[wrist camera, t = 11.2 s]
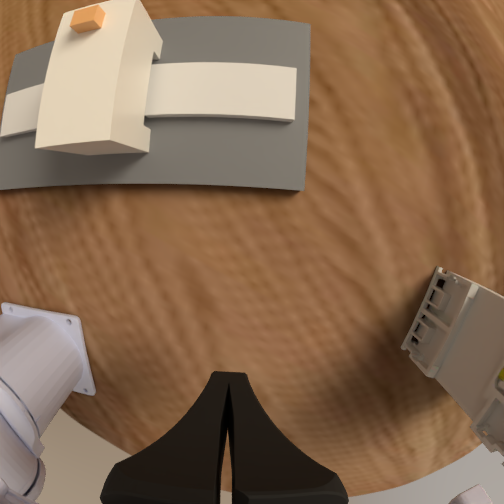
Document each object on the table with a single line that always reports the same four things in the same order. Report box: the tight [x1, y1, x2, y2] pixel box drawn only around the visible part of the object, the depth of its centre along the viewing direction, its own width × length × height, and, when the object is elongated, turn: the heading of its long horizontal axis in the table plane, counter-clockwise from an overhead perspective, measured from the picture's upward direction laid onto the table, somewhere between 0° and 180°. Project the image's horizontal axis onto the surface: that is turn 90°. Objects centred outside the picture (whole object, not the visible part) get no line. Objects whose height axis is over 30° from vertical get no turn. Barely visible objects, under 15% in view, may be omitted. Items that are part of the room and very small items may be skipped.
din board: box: [0, 16, 310, 191], centre depth 16 cm, size 24×12×2 cm, turn 86°
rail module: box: [35, 0, 163, 155], centre depth 13 cm, size 4×8×7 cm, turn 176°
